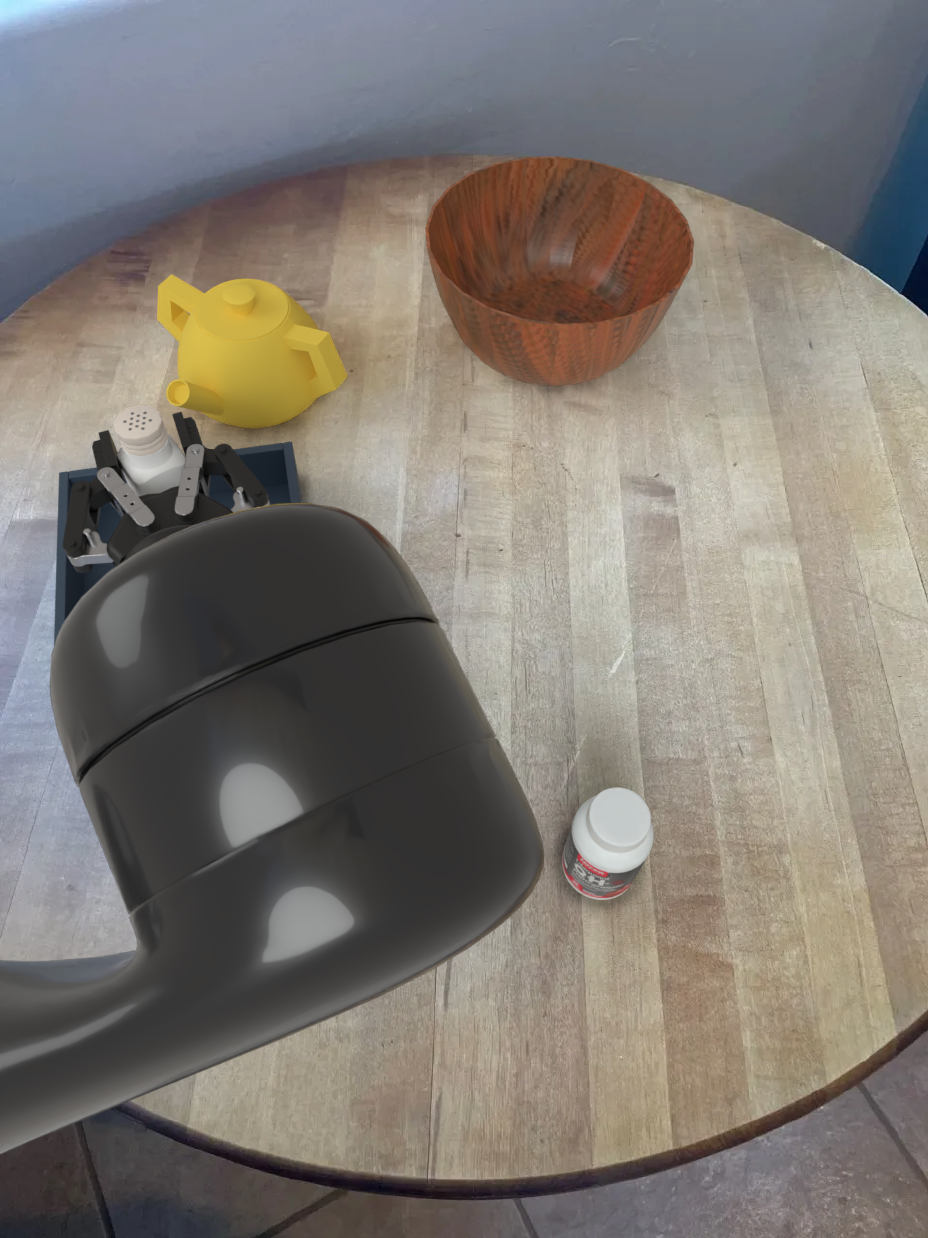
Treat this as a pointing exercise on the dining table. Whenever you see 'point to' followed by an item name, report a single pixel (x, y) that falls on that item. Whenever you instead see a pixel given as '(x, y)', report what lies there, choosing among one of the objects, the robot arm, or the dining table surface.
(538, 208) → the bowl
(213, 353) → the teapot
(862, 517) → the dining table surface
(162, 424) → the salt shaker
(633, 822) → the pill bottle
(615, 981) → the dining table surface
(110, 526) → the tray
